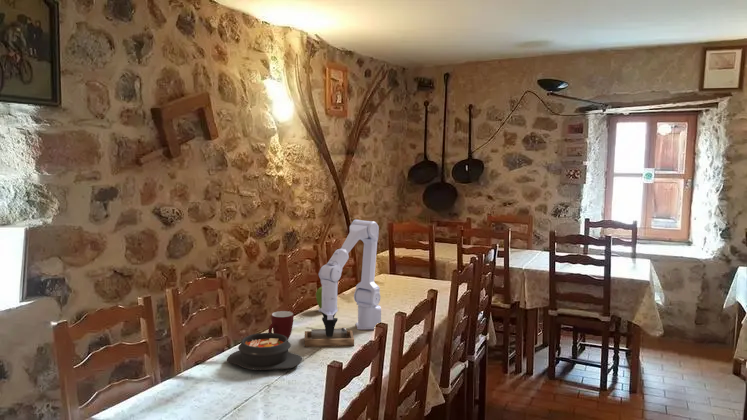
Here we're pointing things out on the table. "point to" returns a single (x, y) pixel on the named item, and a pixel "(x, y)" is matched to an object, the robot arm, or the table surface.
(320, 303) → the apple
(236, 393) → the table surface
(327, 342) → the wooden tray
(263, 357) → the casserole
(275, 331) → the mug
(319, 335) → the slotted metal channel
